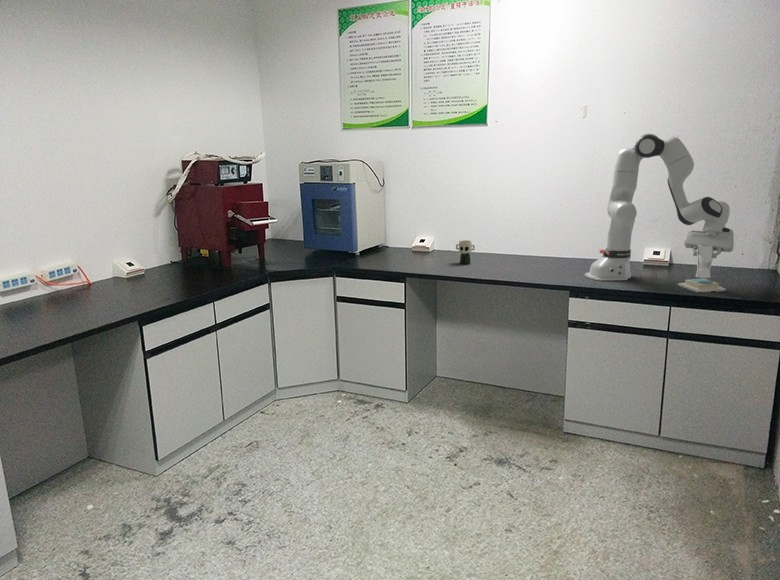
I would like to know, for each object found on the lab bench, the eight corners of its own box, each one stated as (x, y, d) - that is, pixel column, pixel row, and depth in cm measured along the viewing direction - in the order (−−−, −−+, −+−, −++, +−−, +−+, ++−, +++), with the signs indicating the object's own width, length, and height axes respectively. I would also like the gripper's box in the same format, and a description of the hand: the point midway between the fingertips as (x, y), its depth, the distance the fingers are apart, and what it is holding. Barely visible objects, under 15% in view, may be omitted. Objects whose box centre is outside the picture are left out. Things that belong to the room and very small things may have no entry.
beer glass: (706, 278, 261) (709, 246, 258) (691, 276, 267) (694, 244, 264) (714, 277, 265) (717, 245, 262) (699, 275, 270) (702, 243, 267)
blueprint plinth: (697, 292, 260) (698, 285, 259) (677, 285, 273) (678, 278, 272) (725, 290, 262) (726, 284, 261) (704, 283, 275) (705, 277, 274)
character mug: (454, 264, 329) (454, 242, 326) (457, 261, 336) (457, 239, 332) (473, 265, 326) (473, 242, 322) (475, 262, 332) (476, 240, 329)
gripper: (687, 226, 272) (679, 249, 268) (736, 230, 259) (728, 254, 255) (689, 234, 277) (681, 257, 272) (737, 238, 263) (729, 262, 259)
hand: (704, 256), depth 263 cm, fingers closed on beer glass, 7 cm apart
